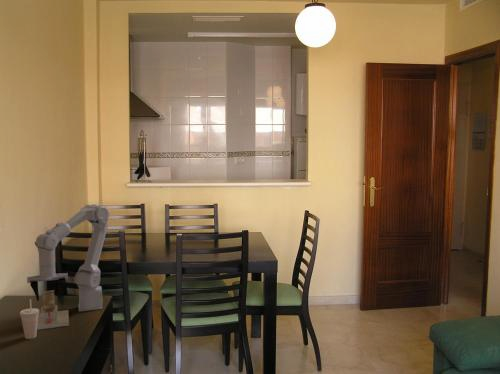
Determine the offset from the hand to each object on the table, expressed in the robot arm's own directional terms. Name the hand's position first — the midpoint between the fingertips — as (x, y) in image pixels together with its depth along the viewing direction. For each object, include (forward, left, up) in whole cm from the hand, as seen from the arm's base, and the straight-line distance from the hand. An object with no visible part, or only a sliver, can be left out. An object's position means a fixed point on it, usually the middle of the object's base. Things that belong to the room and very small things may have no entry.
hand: (48, 298), depth 181 cm
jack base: (0, 0, -9) cm, 9 cm away
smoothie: (+6, +13, -10) cm, 17 cm away
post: (0, 0, -5) cm, 5 cm away
